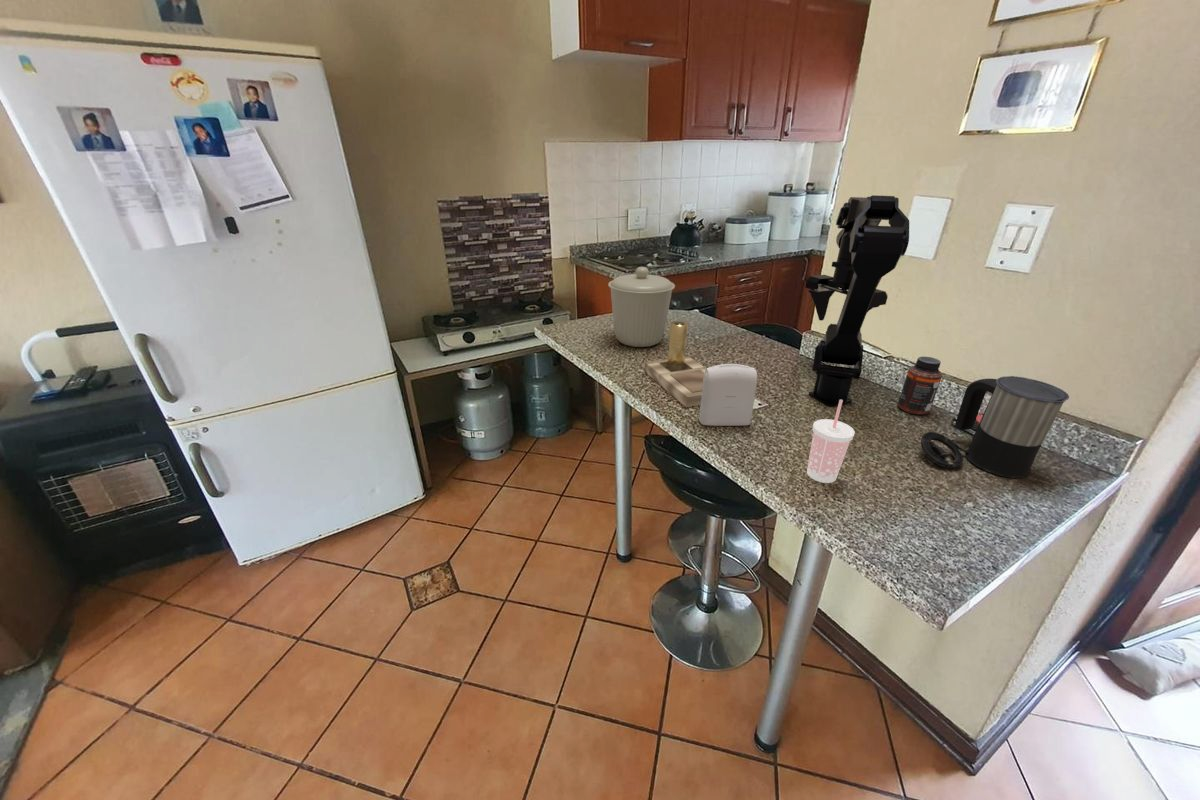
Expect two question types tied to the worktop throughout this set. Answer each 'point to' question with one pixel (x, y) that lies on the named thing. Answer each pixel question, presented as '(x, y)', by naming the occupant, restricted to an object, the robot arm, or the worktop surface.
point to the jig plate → (679, 380)
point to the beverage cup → (828, 448)
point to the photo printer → (728, 395)
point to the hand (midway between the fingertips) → (835, 325)
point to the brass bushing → (677, 346)
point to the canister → (640, 307)
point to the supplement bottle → (920, 386)
